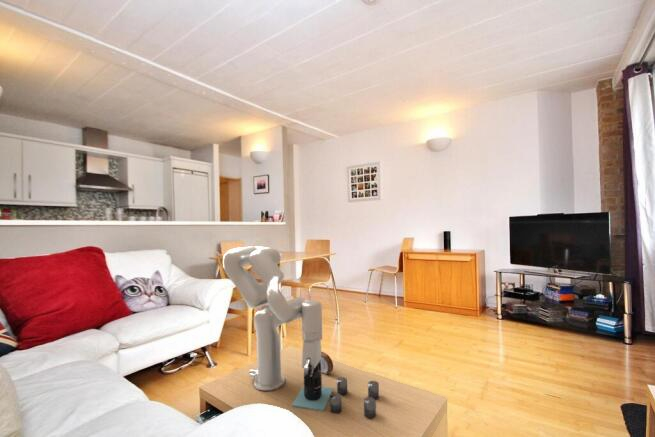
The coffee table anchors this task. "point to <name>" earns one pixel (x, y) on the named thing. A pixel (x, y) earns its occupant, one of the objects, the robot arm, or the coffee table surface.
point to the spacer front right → (370, 408)
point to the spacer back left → (342, 386)
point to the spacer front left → (335, 403)
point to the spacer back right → (373, 389)
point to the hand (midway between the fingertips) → (313, 379)
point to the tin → (326, 363)
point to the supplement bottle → (316, 390)
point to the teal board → (313, 404)
